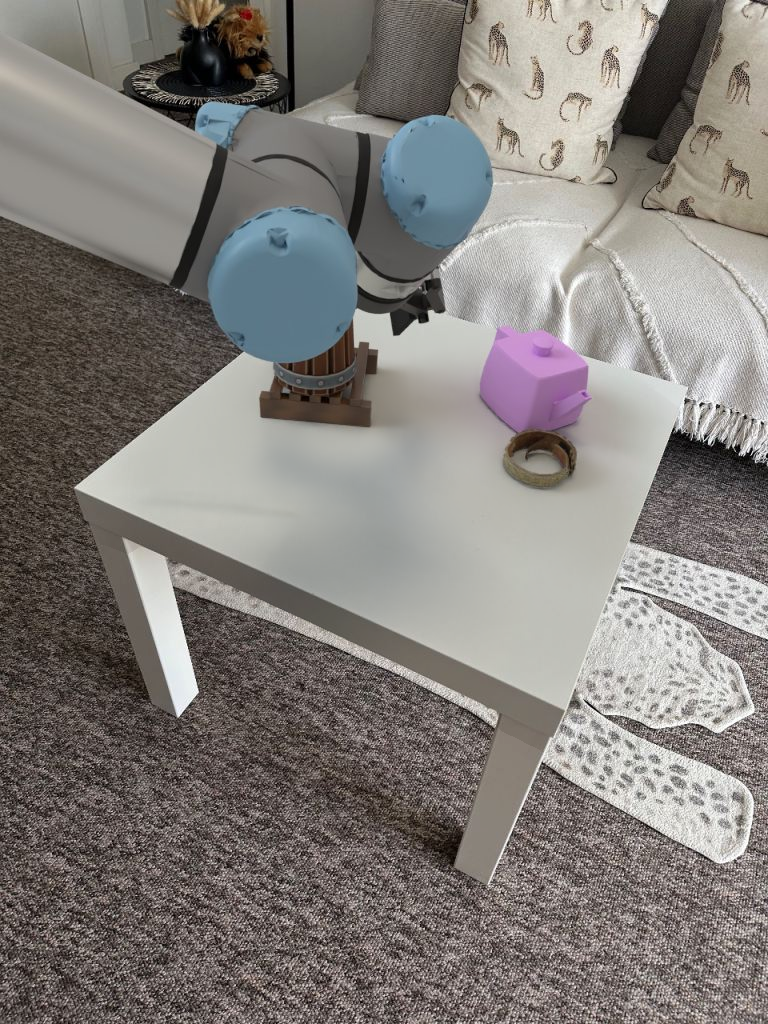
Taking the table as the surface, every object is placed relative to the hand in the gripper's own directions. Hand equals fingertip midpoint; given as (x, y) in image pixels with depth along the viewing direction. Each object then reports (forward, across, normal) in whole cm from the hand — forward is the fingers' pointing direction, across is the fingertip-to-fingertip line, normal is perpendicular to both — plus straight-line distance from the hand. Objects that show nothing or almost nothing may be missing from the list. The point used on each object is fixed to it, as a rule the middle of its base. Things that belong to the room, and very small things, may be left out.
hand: (337, 329), depth 80 cm
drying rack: (+15, 0, -4) cm, 16 cm away
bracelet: (+1, +22, -19) cm, 29 cm away
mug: (+13, 0, -1) cm, 13 cm away
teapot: (+9, +26, -11) cm, 30 cm away
